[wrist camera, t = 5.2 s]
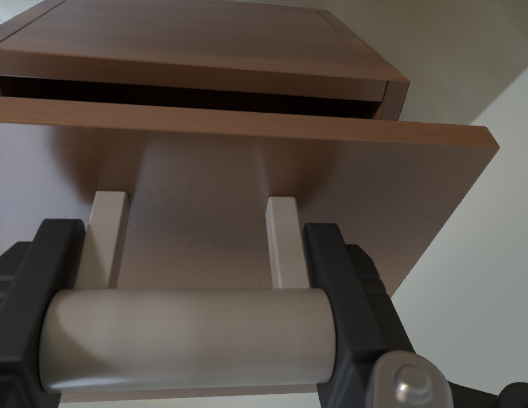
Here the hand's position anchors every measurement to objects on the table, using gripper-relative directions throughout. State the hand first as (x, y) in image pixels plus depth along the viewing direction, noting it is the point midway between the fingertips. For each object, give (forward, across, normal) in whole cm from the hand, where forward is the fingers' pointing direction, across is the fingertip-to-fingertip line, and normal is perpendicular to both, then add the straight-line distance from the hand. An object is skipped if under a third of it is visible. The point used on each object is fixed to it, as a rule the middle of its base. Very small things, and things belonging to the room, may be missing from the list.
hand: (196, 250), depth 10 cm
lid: (+3, 0, +5) cm, 6 cm away
